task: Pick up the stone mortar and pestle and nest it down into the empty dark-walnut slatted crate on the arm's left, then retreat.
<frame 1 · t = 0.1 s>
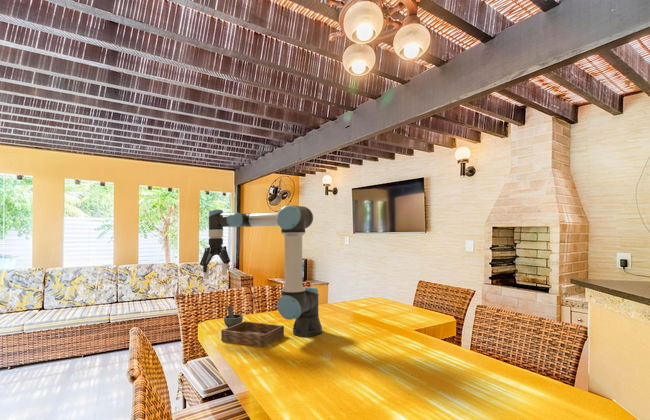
hand: (215, 277, 191), 28 cm above the table, fingers open, 13 cm apart
crate: (253, 338, 172), on the table
mortar and pestle: (232, 329, 188), on the table
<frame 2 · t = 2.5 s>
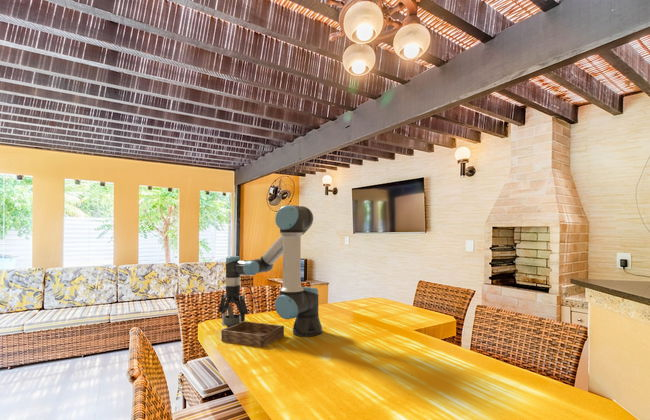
hand: (232, 326, 188), 2 cm above the table, fingers open, 11 cm apart
mortar and pestle: (232, 329, 188), on the table, touching gripper
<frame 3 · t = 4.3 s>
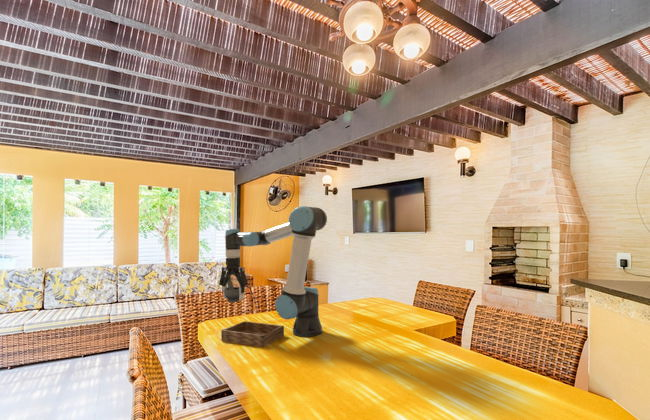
hand: (233, 298, 189), 16 cm above the table, fingers closed on mortar and pestle, 10 cm apart
mortar and pestle: (232, 301, 189), point 15 cm above the table, touching gripper
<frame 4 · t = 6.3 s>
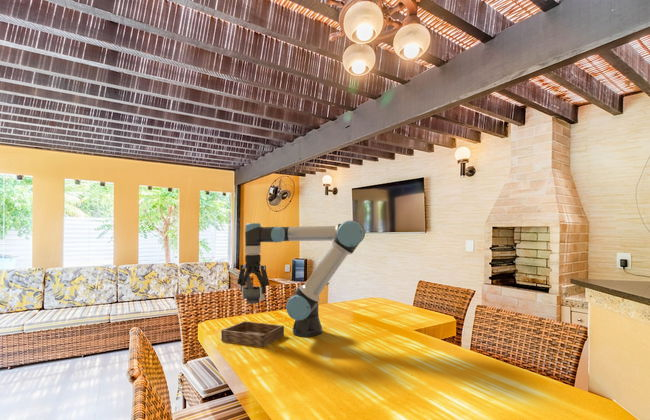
hand: (253, 299, 173), 19 cm above the table, fingers closed on mortar and pestle, 10 cm apart
mortar and pestle: (252, 302, 173), point 17 cm above the table, touching gripper
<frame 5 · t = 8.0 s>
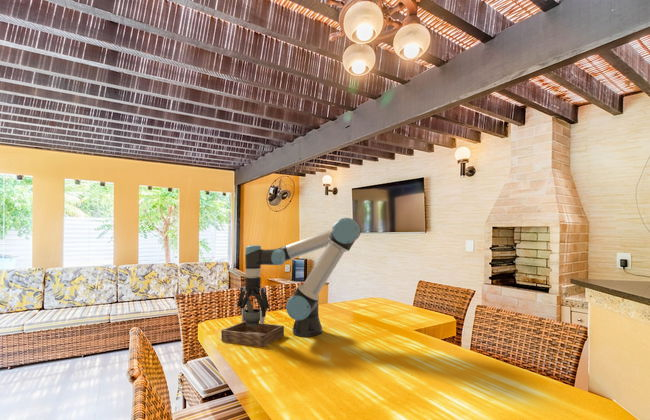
hand: (252, 322, 172), 8 cm above the table, fingers closed on mortar and pestle, 10 cm apart
mortar and pestle: (252, 325, 172), point 6 cm above the table, touching gripper
when the fingers open (5 cm above the table, at t = 9.6 s): mortar and pestle drops 3 cm, resting on crate.
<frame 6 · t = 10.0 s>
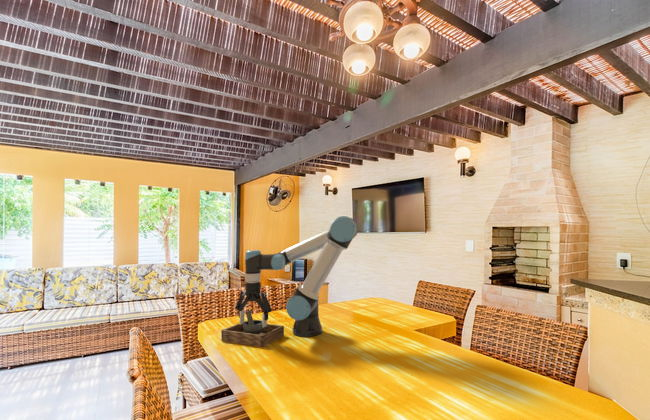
hand: (253, 325, 172), 6 cm above the table, fingers open, 13 cm apart
mortar and pestle: (252, 336, 172), point 1 cm above the table, touching crate
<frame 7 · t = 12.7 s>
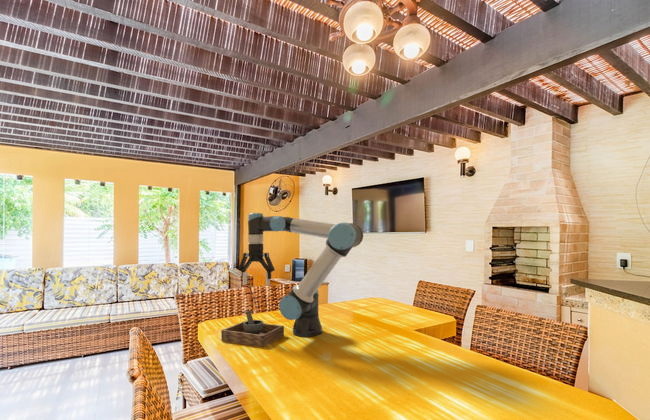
hand: (256, 285, 178), 25 cm above the table, fingers open, 13 cm apart
nothing on the table moved.
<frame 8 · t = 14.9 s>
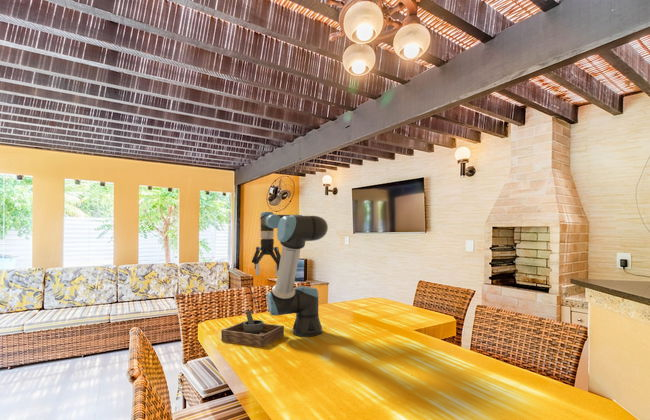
hand: (267, 275, 202), 27 cm above the table, fingers open, 13 cm apart
nothing on the table moved.
at the end: mortar and pestle inside the target area on the crate (0.5 cm from its centre), point 0.6 cm above the crate's base; mortar and pestle tilted 0°; the gripper is holding nothing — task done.
